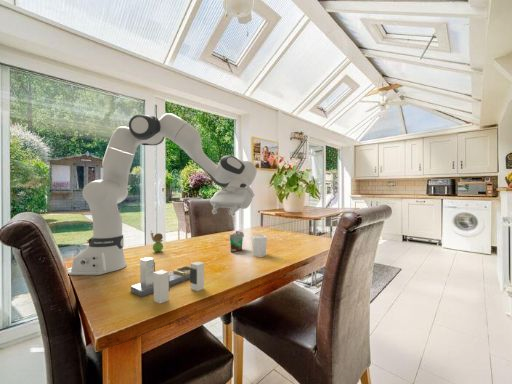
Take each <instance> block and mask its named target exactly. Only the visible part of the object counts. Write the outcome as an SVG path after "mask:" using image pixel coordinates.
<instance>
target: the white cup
mask: <svg viewBox="0 0 512 384" xmlns="http://www.w3.org/2000/svg"><path fill="white" fill-rule="evenodd" d="M251 242H252V255H253V257H255V258H264V257H266V256H267V245H268V235H262V234H257V235H256V234H255V235H252V236H251Z"/></svg>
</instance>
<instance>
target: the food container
mask: <svg viewBox="0 0 512 384" xmlns="http://www.w3.org/2000/svg"><path fill="white" fill-rule="evenodd" d="M244 237H245V234H244V233H243V231H239V230H236V231H235V232H234V233H233V234H229V239H230V253H239V252H241V251H243V241H244Z"/></svg>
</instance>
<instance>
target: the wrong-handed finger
mask: <svg viewBox="0 0 512 384" xmlns="http://www.w3.org/2000/svg"><path fill="white" fill-rule="evenodd" d="M169 273H170V271H168V270H164V269H159V270H157V271H156V270H155V272H154V293H153V301H154V302H155V303H158V304H161V305H162V303H165V302H168V301H169V300H170V291H171V290H170V287H169Z"/></svg>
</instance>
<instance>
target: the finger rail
mask: <svg viewBox="0 0 512 384" xmlns="http://www.w3.org/2000/svg"><path fill="white" fill-rule="evenodd" d="M139 261H140V262H139V263H140V266H139V267H140V268H139V269H140V270H139V271H140V276H139V277H140V279H139V280H140V281H139V283H136V284H132V285H131V286H130V293H132V294H134V295H136V296H139V297H140V298H144V297H147V296H149V295H151V294H154V272H156V262H155V258H153V257H151V256H148V257H144V258H140V259H139ZM190 268H191V265H183V266H181V267H177V268H174V269H173V270H172V272H169V288H170V287H172V286H175V285H178V284H180V283H183V282H185V281H188V280H190Z"/></svg>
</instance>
